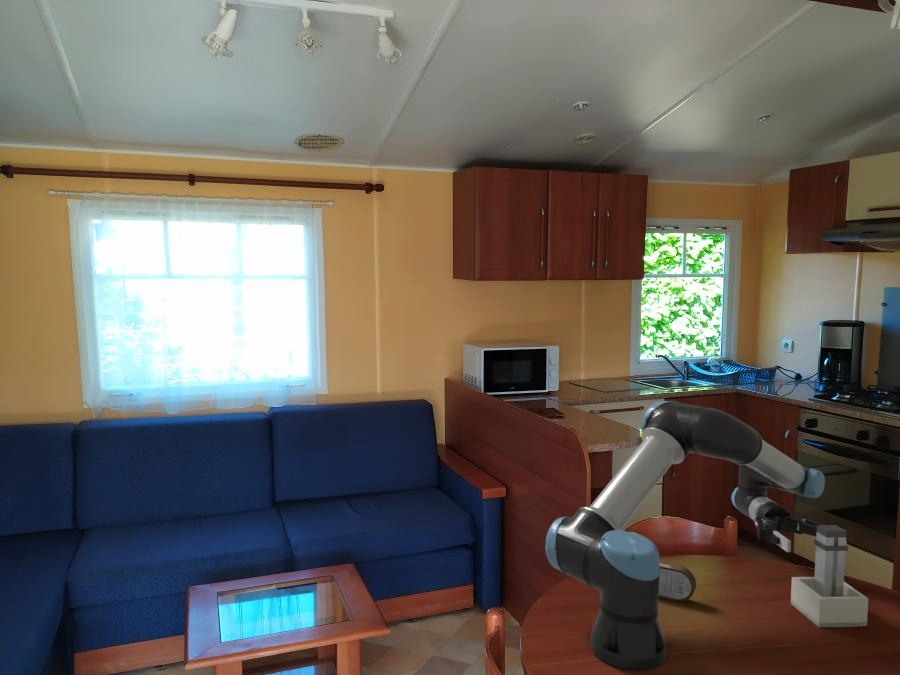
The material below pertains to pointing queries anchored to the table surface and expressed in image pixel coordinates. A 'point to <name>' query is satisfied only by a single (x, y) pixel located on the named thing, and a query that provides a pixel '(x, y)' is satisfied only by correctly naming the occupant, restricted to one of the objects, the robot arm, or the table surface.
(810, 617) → the open box
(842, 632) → the table surface
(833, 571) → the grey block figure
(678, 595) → the tin
